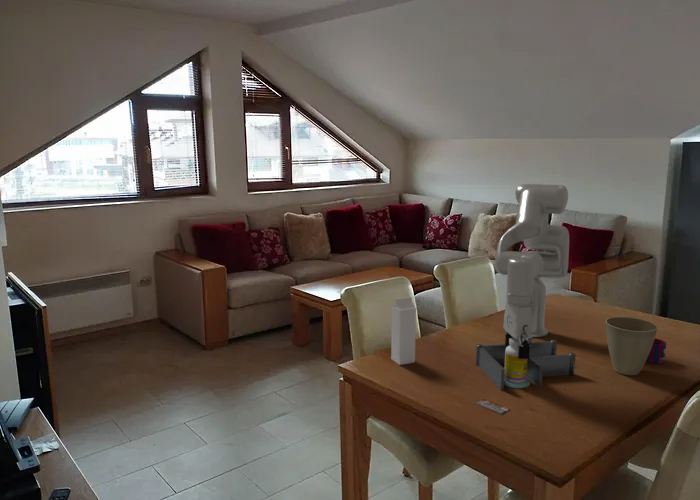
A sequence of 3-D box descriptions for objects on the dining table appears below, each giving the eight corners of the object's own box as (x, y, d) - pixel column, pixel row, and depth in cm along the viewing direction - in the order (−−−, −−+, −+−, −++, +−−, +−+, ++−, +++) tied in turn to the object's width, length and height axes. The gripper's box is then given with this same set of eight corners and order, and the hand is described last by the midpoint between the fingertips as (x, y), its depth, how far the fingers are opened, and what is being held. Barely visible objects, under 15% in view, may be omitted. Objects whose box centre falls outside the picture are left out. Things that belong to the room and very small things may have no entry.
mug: (659, 366, 191) (661, 346, 190) (628, 357, 199) (630, 338, 197) (667, 361, 195) (669, 341, 194) (637, 352, 203) (639, 334, 202)
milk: (415, 362, 196) (416, 299, 191) (399, 365, 193) (400, 301, 189) (406, 356, 201) (407, 294, 197) (390, 358, 199) (391, 296, 194)
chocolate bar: (514, 412, 161) (514, 410, 161) (503, 418, 158) (503, 415, 158) (482, 399, 170) (482, 396, 169) (471, 403, 167) (471, 401, 166)
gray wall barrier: (474, 363, 194) (475, 344, 193) (554, 358, 198) (555, 339, 197) (499, 390, 174) (500, 368, 173) (586, 383, 178) (588, 362, 177)
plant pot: (650, 384, 177) (655, 334, 174) (598, 374, 185) (601, 326, 182) (654, 367, 190) (659, 321, 187) (605, 358, 198) (609, 313, 194)
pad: (495, 377, 183) (495, 374, 183) (522, 375, 185) (522, 373, 185) (507, 389, 175) (507, 386, 175) (535, 387, 176) (535, 384, 176)
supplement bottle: (525, 385, 176) (528, 344, 173) (503, 382, 178) (505, 342, 175) (526, 376, 182) (528, 337, 179) (504, 373, 184) (506, 335, 181)
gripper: (496, 291, 182) (494, 342, 186) (519, 308, 166) (516, 364, 169) (519, 289, 183) (516, 341, 187) (544, 306, 167) (541, 362, 170)
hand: (516, 352), depth 178 cm, fingers open, 9 cm apart
